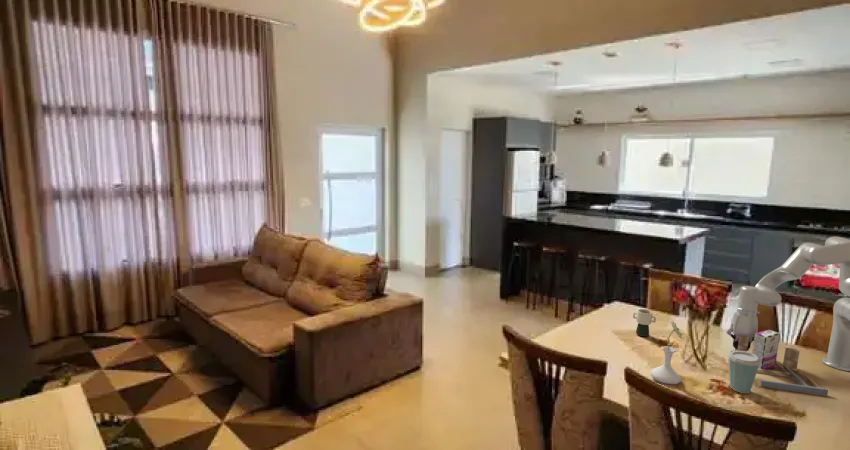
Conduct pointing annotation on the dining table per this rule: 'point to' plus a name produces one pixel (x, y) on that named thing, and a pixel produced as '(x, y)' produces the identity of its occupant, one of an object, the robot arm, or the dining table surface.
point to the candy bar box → (766, 348)
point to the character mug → (643, 321)
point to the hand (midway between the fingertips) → (741, 348)
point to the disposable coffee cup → (742, 370)
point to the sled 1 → (743, 347)
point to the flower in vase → (667, 363)
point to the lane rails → (794, 385)
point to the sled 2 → (795, 364)
